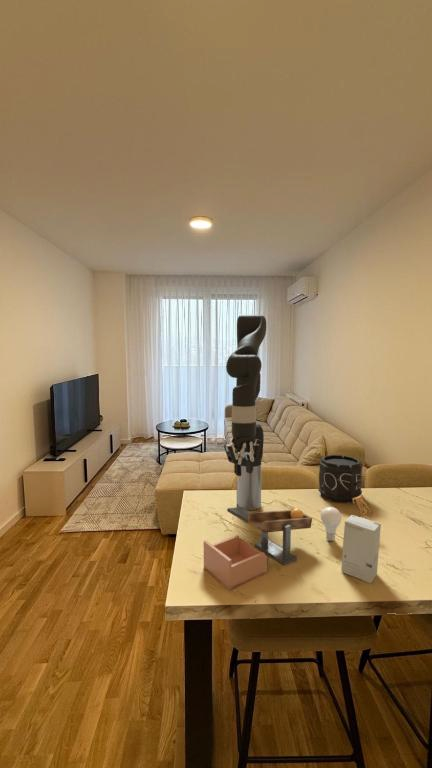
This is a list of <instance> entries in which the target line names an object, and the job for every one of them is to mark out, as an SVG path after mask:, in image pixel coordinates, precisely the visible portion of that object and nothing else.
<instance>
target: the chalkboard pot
mask: <svg viewBox="0 0 432 768" xmlns="http://www.w3.org/2000/svg"><path fill="white" fill-rule="evenodd" d="M318 466H319V471H318V483H319V484H318V486H319V487H318V489H317V490H318V492H320V496H322V497H323V498H324V499H325V500H328V501H332V502H334V503H338V504H339V503H341V504H351V503H353V499H352V498H355V497H359V496H360V495H363V494H362V492H363V491H362V485H363V467H364V466H363V464H362V462H361V460H360V459H358V458H356V457H353V456H349V455H344V456H343V455H342V454H330V455H324V456H322V458H321V460H320V461H319V463H318ZM354 503H357V502H356V499H354Z"/></svg>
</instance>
